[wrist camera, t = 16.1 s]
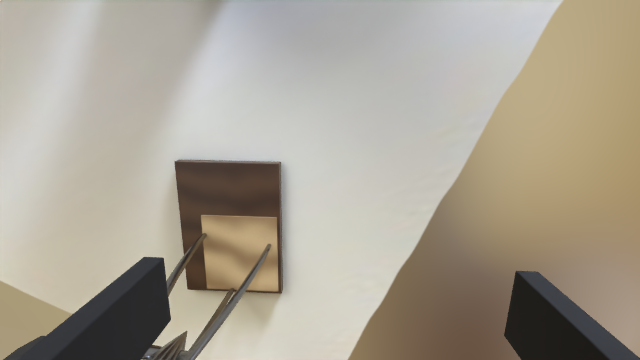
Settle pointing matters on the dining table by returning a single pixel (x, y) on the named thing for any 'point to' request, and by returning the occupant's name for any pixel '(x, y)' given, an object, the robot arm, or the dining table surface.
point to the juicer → (173, 355)
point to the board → (231, 223)
